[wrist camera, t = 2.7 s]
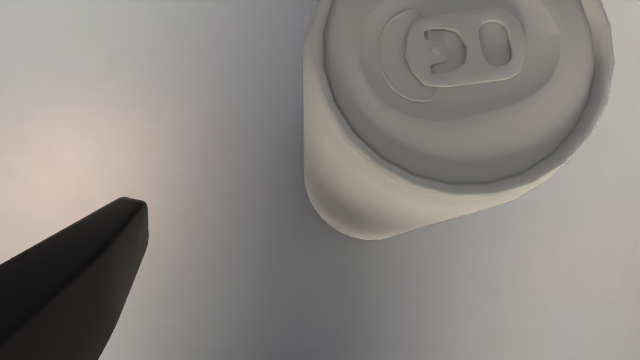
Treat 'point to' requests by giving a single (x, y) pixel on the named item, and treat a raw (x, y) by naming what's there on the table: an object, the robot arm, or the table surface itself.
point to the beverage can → (445, 105)
